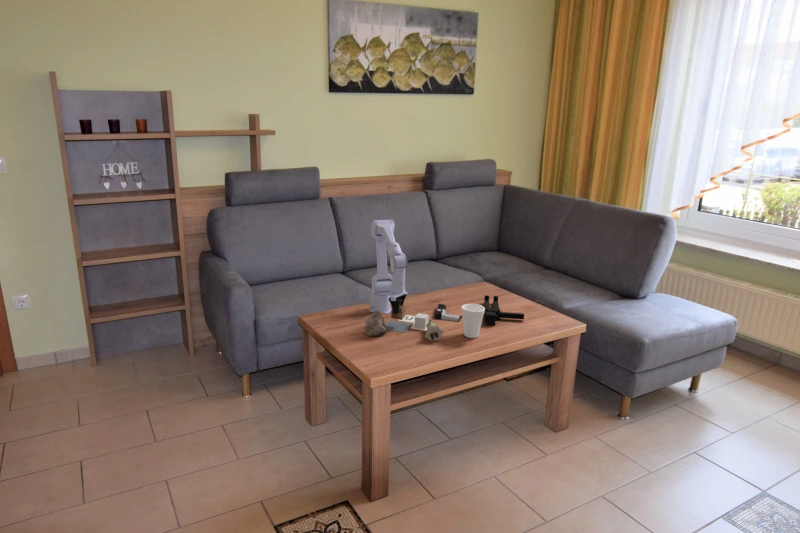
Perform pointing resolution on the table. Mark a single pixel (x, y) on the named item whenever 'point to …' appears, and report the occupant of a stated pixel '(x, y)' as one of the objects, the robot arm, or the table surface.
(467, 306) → the cup
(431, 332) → the figurine
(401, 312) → the walnut cube
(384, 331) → the rock
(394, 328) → the slate mat
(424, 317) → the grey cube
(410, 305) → the table surface
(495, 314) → the toy
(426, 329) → the code tile
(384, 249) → the robot arm
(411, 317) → the code tile
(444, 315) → the toy gun
